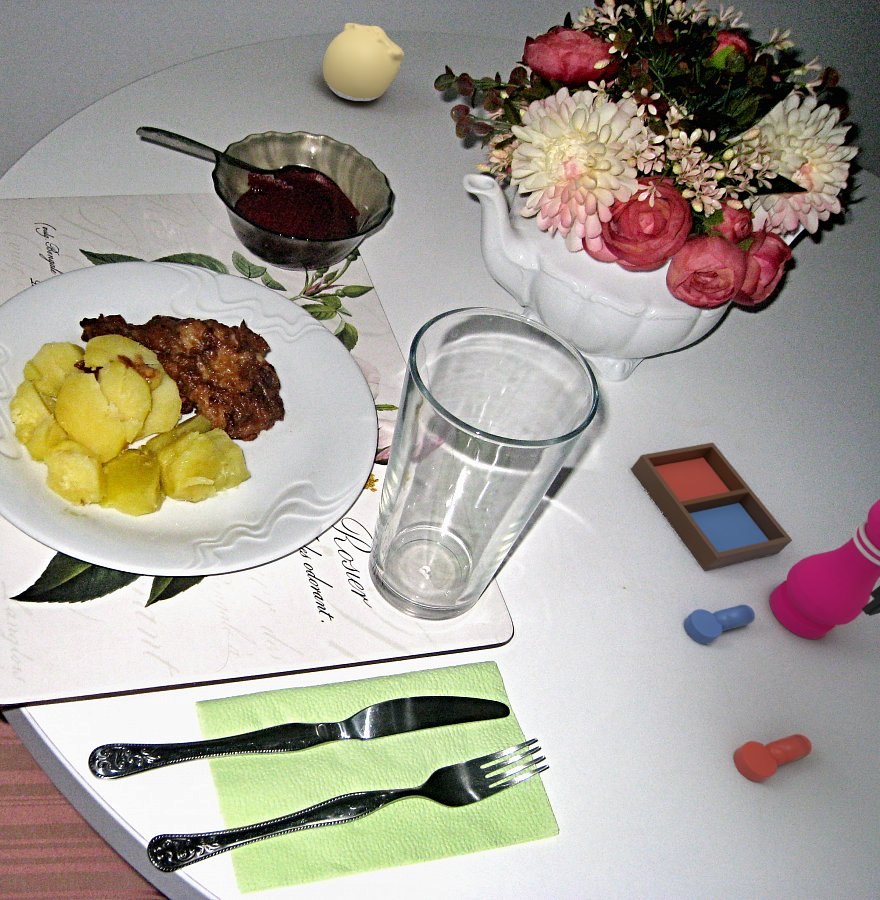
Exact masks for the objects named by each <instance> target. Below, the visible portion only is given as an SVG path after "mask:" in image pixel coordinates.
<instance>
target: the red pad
mask: <svg viewBox="0 0 880 900" xmlns="http://www.w3.org/2000/svg"><path fill="white" fill-rule="evenodd" d="M655 468H656V470H657V471H658V472H659V474H660V475H661V476H662V478H663V479H664V480H665V482H666V483H667V484H668V486H669V487H670V488H671V490H672V491H673V492H674V494H675V495H676V496H677V498H678V499H679V501H680V502H681V503H682V505H683V506H684V507H685V509H686V510H687V511H688V513H693V512H698V511H703V510H708V509H712V508H717V507H722V506H726V505H731V504H736V503H739V502H740V501H741V500H742V499H743V498H744V497H745V496H746V495H747V493H748V491H747V489H746V488H745V489H740V490H735V491H729V489H728V488H727V487H726V486H725V484H724V483H723V482H722V481H721V479H720V478H719V477H718V475H717V474H716V473H715V472H714V470H713V469H712V468H711V467H710V465H709V464H708V463H707V462H706V460H705V459H704V458H698V459H693V460H687V461H682V462H676V463H671V464H666V465H660V466H655Z"/></svg>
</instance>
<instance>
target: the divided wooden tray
mask: <svg viewBox="0 0 880 900" xmlns="http://www.w3.org/2000/svg"><path fill="white" fill-rule="evenodd" d="M698 458H704V459H705V460H706V462H707V463H708V464H709V465H710V467H711V468H712V469H713V470H714V472H715V473H716V474H717V475H718V477H719V478H720V479H721V481H722V482H723V483H724V484H725V486H726V487H727V488H728V489H729V491H735V490H740V489H745V488H746V489H747V491H748V493H747V495H746V496H745V497H744V498H743V499H742V500H741V501H740V502H739V503H740V504H741V506H742V507H743V508H744V510H745V511H746V512H747V513H748V515H749V516H750V517H751V518H752V520H753V521H754V522H755V523H756V525H757V526H758V527H759V528H760V530H761V531H762V532H763V534H764V535H765V536H766V537H767V539H768V540H769V541H766V542H761V543H757V544H753V545H749V546H744V547H740V548H736V549H732V550H727V551H723V552H719V553H718V551H717V550H716V549H715V547H714V546H713V545H712V543H711V542H710V541H709V539H708V538H707V537H706V535H705V534H704V533H703V531H702V530H701V529H700V527H699V526H698V525H697V523H696V522H695V521H694V519H693V518H692V517H691V515H690V514H689V513H688V511H687V510H686V509H685V507H684V506H683V505H682V503H681V502H680V501H679V499H678V498H677V496H676V495H675V494H674V492H673V491H672V490H671V488H670V487H669V486H668V484H667V483H666V482H665V480H664V479H663V478H662V476H661V475H660V474H659V472H658V471H657V470H656V468H655V466H660V465H666V464H671V463H676V462H682V461H687V460H693V459H698ZM630 470H631V471H632V473H633V474H634V475H635V477H636V478H637V480H638V481H639V483H640V484H641V485H642V486H643V488H644V489H645V490H646V492H647V493H648V495H649V496H650V498H651V499H652V500H653V502H654V503H655V505H656V506H657V507H658V509H659V510H660V511H661V512H662V515H663V516H664V517H665V518H666V520H667V521H668V522H669V524H670V525H671V527H672V528H673V529H674V531H675V532H676V533H677V535H678V536H679V537H680V539H681V540H682V542H683V543H684V545H685V546H686V547H687V549H688V550H689V551H690V553H691V554H692V556H693V557H694V559H696V561H697V563H698V564H699V566H700V567H701V568H702V570H703V571H704V572H706V571H711V570H715V569H719V568H723V567H727V566H731V565H736V564H739V563H744V562H748V561H751V560H756V559H759V558H763V557H768V556H771V555H776V554H779V553H781V552H782V551H783V550H784V549H785V548H786V547H787V546H788V545H789V544H790V543H791V542H792V541H793V539H792V537H791V536H790V535H789V534H788V533H787V531H786V530H785V529H784V528H783V527H782V525H781V524H780V523H779V521H778V520H777V519H776V518H775V517H774V515H773V514H772V513H771V512H770V511H769V510H768V508H767V507H766V506H765V504H764V503H763V502H762V501H761V500H760V498H759V497H758V496H757V495H756V494H755V492H754V491H753V490H752V489H751V487H750V486H749V484H748V483H747V482H746V481H745V480H744V479H743V477H742V476H741V475H740V474H739V472H738V471H737V470H736V469H735V467H734V466H733V465H732V464H731V463H730V461H729V460H728V459H727V457H726V456H725V455H724V454H723V453H722V452H721V450H720V449H719V448H718V446H717V445H716V444H715V443H714V442H707V443H702V444H697V445H691V446H685V447H680V448H674V449H668V450H662V451H656V452H651V453H646V454H640V456H639V457H638V458H637V460H636V461H635V462H634V464H633V465H632V467H631V468H630ZM726 506H727V505H726ZM712 509H713V508H712ZM693 513H694V512H693Z"/></svg>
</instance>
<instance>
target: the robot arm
mask: <svg viewBox="0 0 880 900" xmlns="http://www.w3.org/2000/svg"><path fill="white" fill-rule="evenodd" d="M870 595H871V596H870V597H872V598H873V599H872V600H871V601H868V604H867V605H866V606H864V607H863V608H862V610H863V611H862V613H864V614H865V615H866V616H867V615H868V616H869V617H871V616H874V615H875V616H876V615H878V614H880V585H879V586H877V587H876V588H874V589H873V591H872V592H871V593H870Z"/></svg>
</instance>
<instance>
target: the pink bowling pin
mask: <svg viewBox="0 0 880 900" xmlns="http://www.w3.org/2000/svg"><path fill="white" fill-rule="evenodd" d="M879 578H880V498H879V499H877V500H876V501H875V502H874V503H873V504H872V505H871V506H870V508H869V510H868V513H867V518H866V519H864V520H862V521H861V522H860V524H858V525H857V526H855V527H854V528H853V530H852V537H851V538H850V539H849V540H848V541H846V542H845V543H844V544H843V545H841V546H840V547H838V548H836V549H833V550H828V551H825V552H824V551H823V552H820V553H815V554H811V555H809V556H806V557H804V558H802V559H800V560H799V561H798V562H796V563H795V564H793V565H792V566H791V568H790V569H789V571H788V573H787V576H786V580H783V581H782V582H781V583H780V584H779V585H778V586H777V587H776V588H774V589H773V590H772V592H771V593H770V596H769V604H770V608H771V611H772V613H773V615H774V616H775V618H776V619H777V620H778V621H779V623H780V624H781V625H782V626H783V627H784V628H786V629H787V630H788V631H790V632H791V633H793V634H794V635H797V636H798V637H801V638H804V639H809V640H815V639H822V638H823V637H824V636H826V635H827V634H828V633H830V632H831V631H832V630H834V628H835V627H836V626H842V625H843V626H844V625H848V624H850V623H852V622H853V621H855V619H857V618H858V617H859V616H860V615H861V614H862V613H863V610H862V608H863V607H864V606H866V605H867V604H868V603H869V602H870V599H871V597H872V596H871V595H870V593H871V592H872V591H873V590H874V589H875V586H876V583H877V582H878V580H879Z"/></svg>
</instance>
